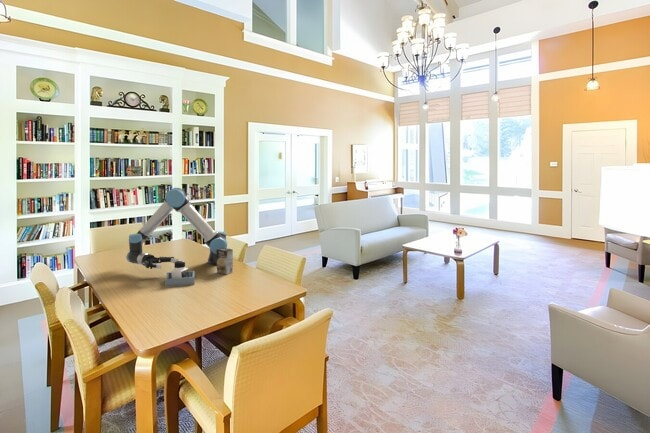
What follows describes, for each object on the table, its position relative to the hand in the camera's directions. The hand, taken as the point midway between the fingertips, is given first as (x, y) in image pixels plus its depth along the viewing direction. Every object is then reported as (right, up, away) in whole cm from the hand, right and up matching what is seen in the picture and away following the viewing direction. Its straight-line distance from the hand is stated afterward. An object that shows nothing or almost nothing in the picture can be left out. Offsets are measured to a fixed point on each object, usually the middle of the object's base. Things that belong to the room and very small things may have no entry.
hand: (169, 264), depth 222 cm
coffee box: (+29, -8, +19) cm, 35 cm away
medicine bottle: (+8, -10, -2) cm, 13 cm away
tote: (+8, -11, -2) cm, 13 cm away
